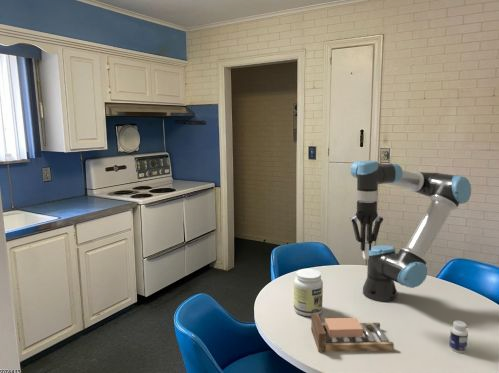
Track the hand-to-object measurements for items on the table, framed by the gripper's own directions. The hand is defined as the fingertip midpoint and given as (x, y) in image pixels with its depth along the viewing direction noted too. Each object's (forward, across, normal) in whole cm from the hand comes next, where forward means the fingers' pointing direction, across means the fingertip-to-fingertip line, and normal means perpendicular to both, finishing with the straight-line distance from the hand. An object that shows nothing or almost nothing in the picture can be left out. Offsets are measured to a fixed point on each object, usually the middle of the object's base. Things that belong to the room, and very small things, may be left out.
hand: (365, 258), depth 152 cm
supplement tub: (+26, +22, -8) cm, 35 cm away
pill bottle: (+26, -25, +24) cm, 44 cm away
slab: (+22, +14, +15) cm, 30 cm away
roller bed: (+24, +9, +16) cm, 30 cm away
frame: (+25, +10, +16) cm, 32 cm away
